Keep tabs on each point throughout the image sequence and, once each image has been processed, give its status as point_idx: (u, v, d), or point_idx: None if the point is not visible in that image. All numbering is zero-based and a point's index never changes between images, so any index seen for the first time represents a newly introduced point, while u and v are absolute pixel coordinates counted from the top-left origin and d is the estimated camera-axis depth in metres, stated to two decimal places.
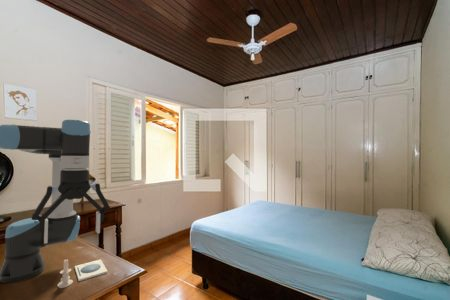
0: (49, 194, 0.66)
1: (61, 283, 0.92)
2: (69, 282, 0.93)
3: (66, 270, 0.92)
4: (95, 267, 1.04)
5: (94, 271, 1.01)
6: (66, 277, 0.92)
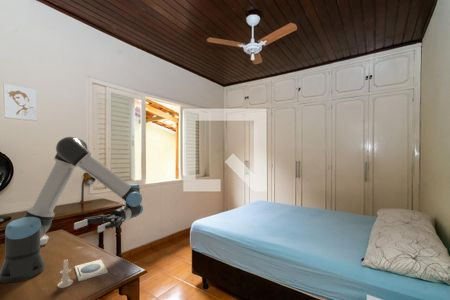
0: None
1: (61, 283, 0.92)
2: (69, 282, 0.93)
3: (66, 270, 0.92)
4: (95, 267, 1.04)
5: (94, 271, 1.01)
6: (66, 277, 0.92)
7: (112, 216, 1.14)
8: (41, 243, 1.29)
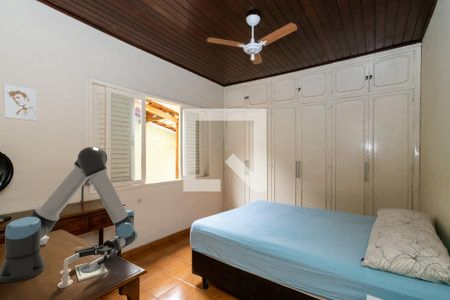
0: None
1: (61, 283, 0.92)
2: (69, 282, 0.93)
3: (66, 270, 0.92)
4: None
5: (94, 271, 1.01)
6: (66, 277, 0.92)
7: (105, 248, 1.09)
8: (41, 243, 1.29)
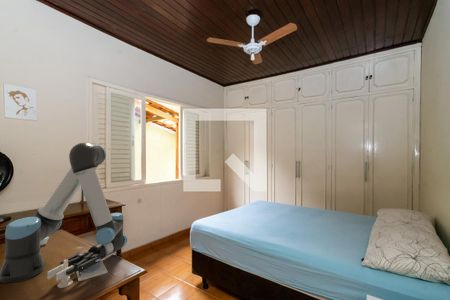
0: None
1: (61, 283, 0.92)
2: (69, 282, 0.93)
3: None
4: (95, 267, 1.04)
5: (94, 271, 1.01)
6: (66, 277, 0.92)
7: (88, 255, 1.02)
8: (41, 243, 1.29)
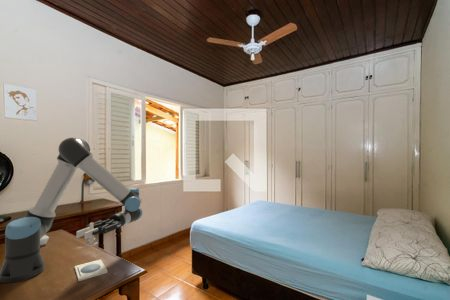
0: None
1: (88, 243, 1.03)
2: (94, 242, 1.04)
3: None
4: (95, 267, 1.04)
5: (94, 271, 1.01)
6: (92, 238, 1.03)
7: (110, 221, 1.13)
8: (41, 243, 1.29)
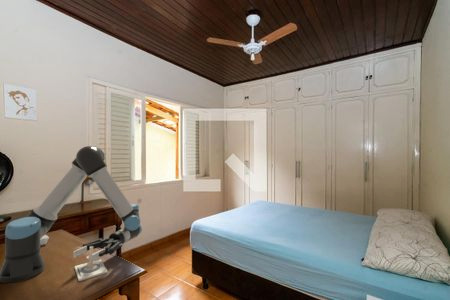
0: None
1: (87, 267, 1.03)
2: (94, 266, 1.04)
3: (91, 255, 1.03)
4: None
5: (94, 271, 1.01)
6: (91, 262, 1.03)
7: (110, 240, 1.13)
8: (41, 243, 1.29)
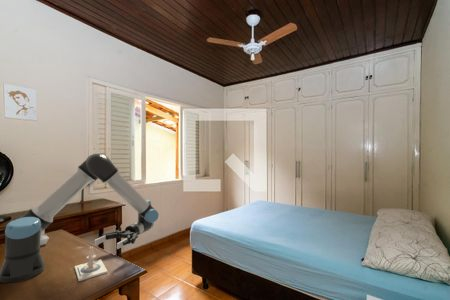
0: None
1: (87, 267, 1.03)
2: (94, 266, 1.04)
3: (91, 255, 1.03)
4: None
5: (94, 271, 1.01)
6: (91, 262, 1.03)
7: (127, 232, 1.24)
8: (41, 243, 1.29)
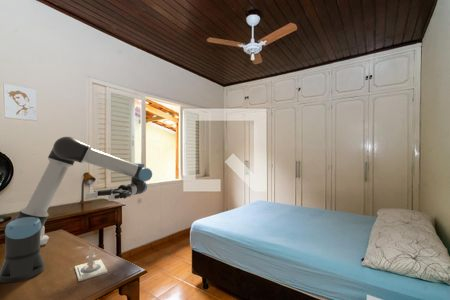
0: None
1: (87, 267, 1.03)
2: (94, 266, 1.04)
3: (91, 255, 1.03)
4: None
5: (94, 271, 1.01)
6: (91, 262, 1.03)
7: (120, 189, 1.24)
8: (41, 243, 1.29)
